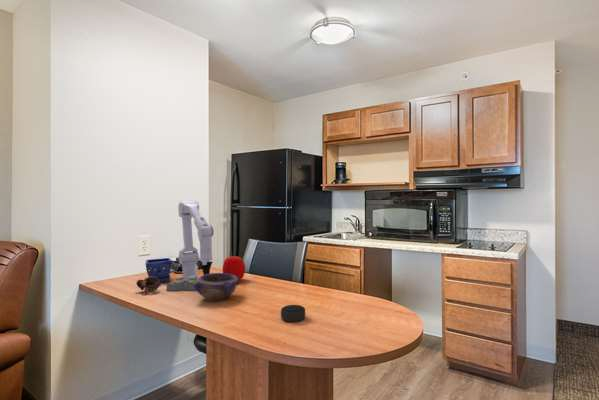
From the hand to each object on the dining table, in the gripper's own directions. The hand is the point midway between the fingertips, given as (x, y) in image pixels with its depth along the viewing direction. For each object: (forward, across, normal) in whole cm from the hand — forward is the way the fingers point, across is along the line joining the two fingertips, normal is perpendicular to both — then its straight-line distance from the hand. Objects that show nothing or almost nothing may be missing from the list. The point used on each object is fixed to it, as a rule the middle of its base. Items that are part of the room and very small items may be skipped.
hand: (206, 276), depth 172 cm
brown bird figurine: (+6, -1, -28) cm, 29 cm away
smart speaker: (+6, +54, +37) cm, 65 cm away
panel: (+6, -1, -7) cm, 9 cm away
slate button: (+4, -1, -7) cm, 8 cm away
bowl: (+6, +20, +7) cm, 22 cm away
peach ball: (+4, -3, -14) cm, 15 cm away
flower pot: (+6, -23, -29) cm, 38 cm away
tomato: (+6, -13, +13) cm, 19 cm away
